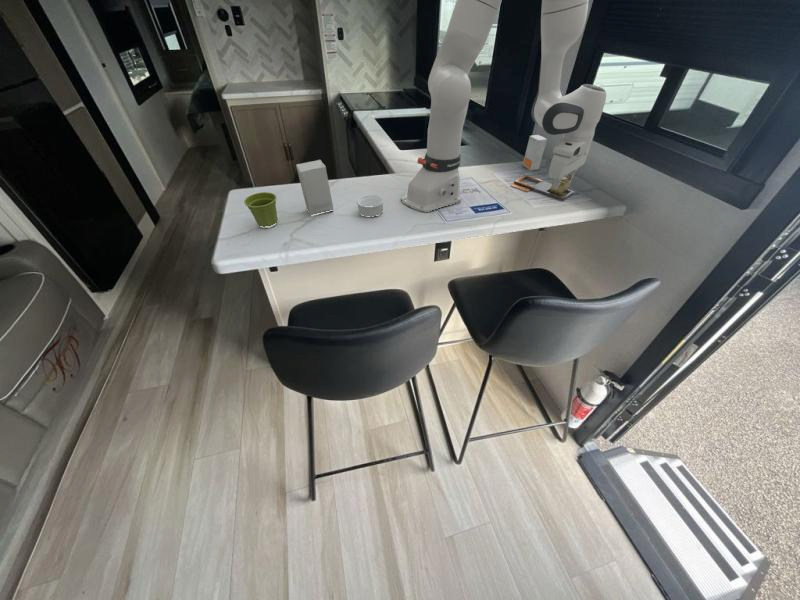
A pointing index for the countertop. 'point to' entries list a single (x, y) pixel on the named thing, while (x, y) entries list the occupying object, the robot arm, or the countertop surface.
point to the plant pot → (263, 208)
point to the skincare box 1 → (315, 186)
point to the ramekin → (368, 201)
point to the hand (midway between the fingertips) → (562, 184)
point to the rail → (539, 187)
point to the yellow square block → (561, 187)
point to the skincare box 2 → (534, 152)
